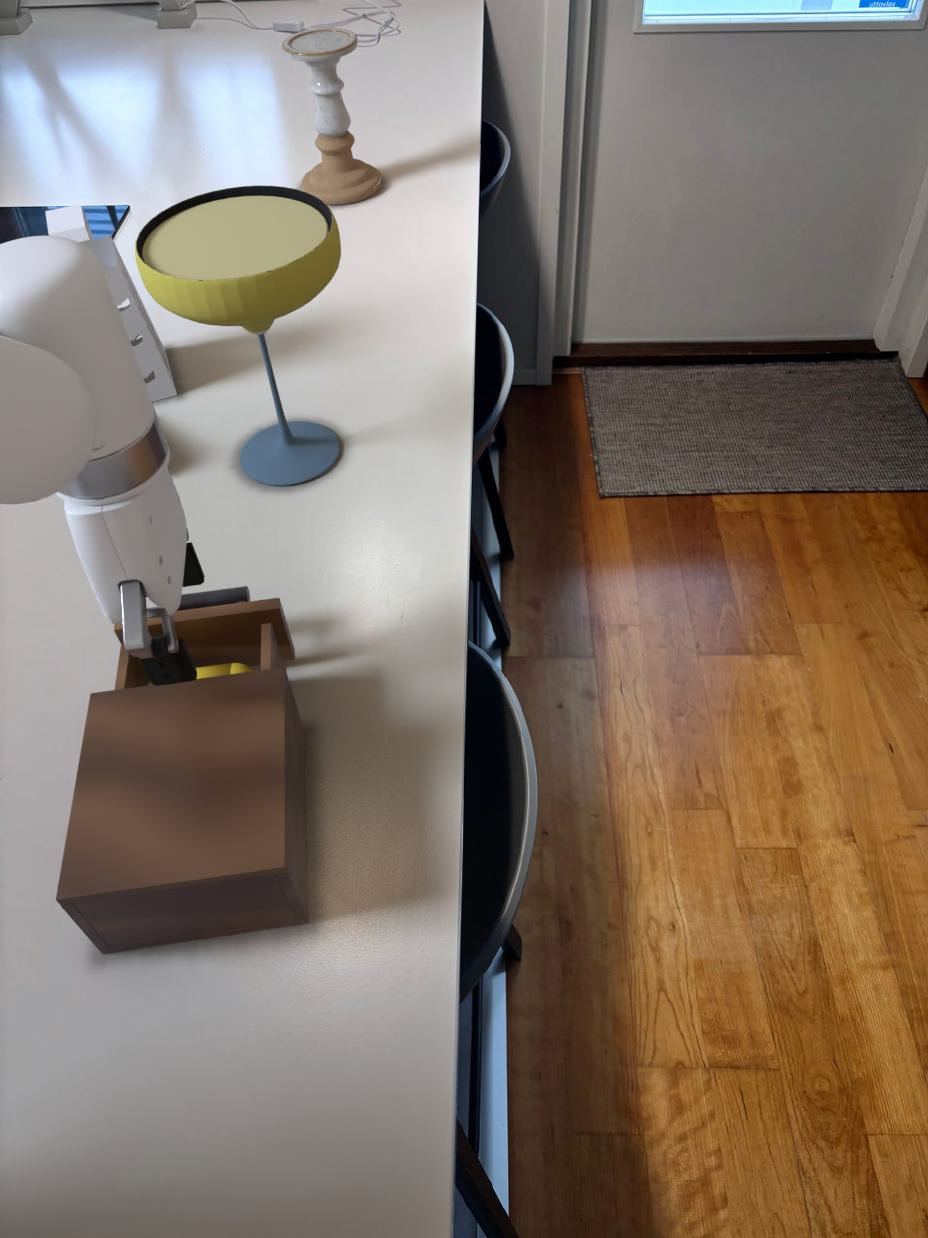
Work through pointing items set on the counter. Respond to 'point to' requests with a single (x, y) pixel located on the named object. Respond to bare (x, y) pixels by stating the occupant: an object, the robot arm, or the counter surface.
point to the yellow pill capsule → (220, 670)
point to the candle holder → (331, 118)
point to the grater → (119, 297)
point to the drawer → (219, 633)
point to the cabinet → (188, 813)
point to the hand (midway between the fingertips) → (180, 629)
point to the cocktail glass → (249, 292)
